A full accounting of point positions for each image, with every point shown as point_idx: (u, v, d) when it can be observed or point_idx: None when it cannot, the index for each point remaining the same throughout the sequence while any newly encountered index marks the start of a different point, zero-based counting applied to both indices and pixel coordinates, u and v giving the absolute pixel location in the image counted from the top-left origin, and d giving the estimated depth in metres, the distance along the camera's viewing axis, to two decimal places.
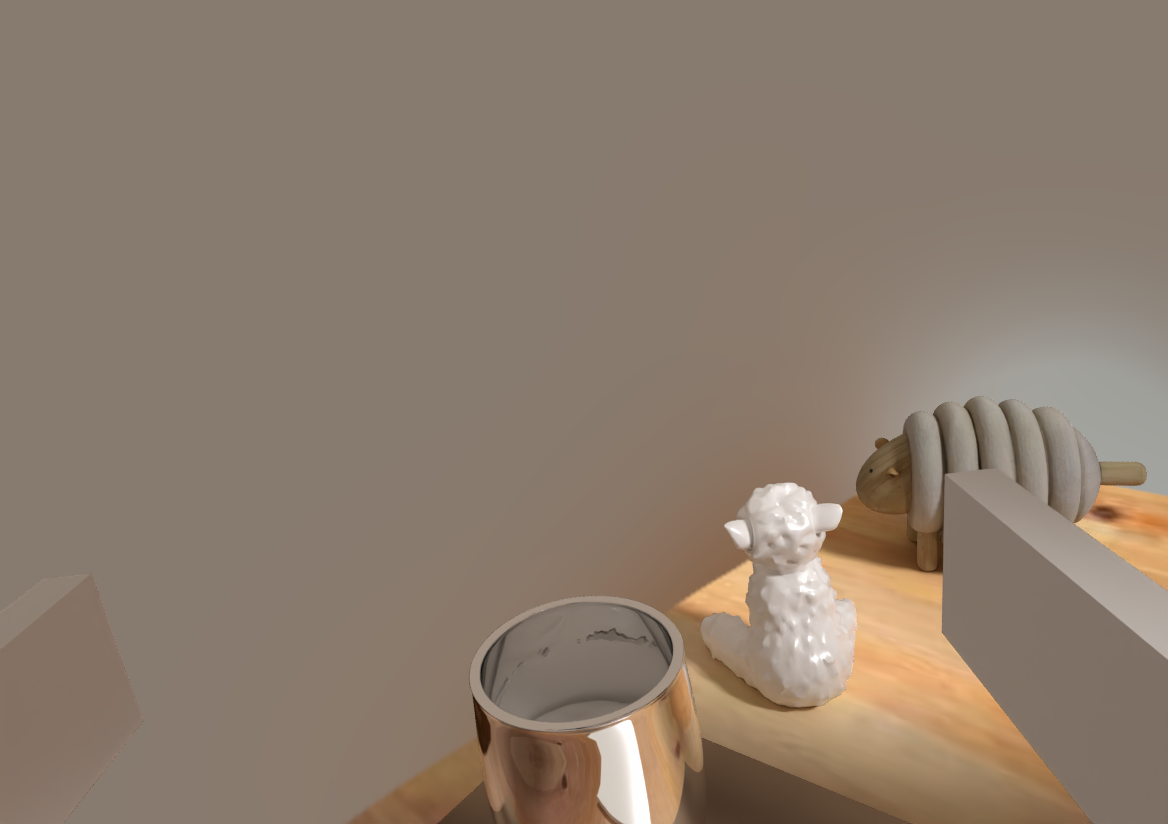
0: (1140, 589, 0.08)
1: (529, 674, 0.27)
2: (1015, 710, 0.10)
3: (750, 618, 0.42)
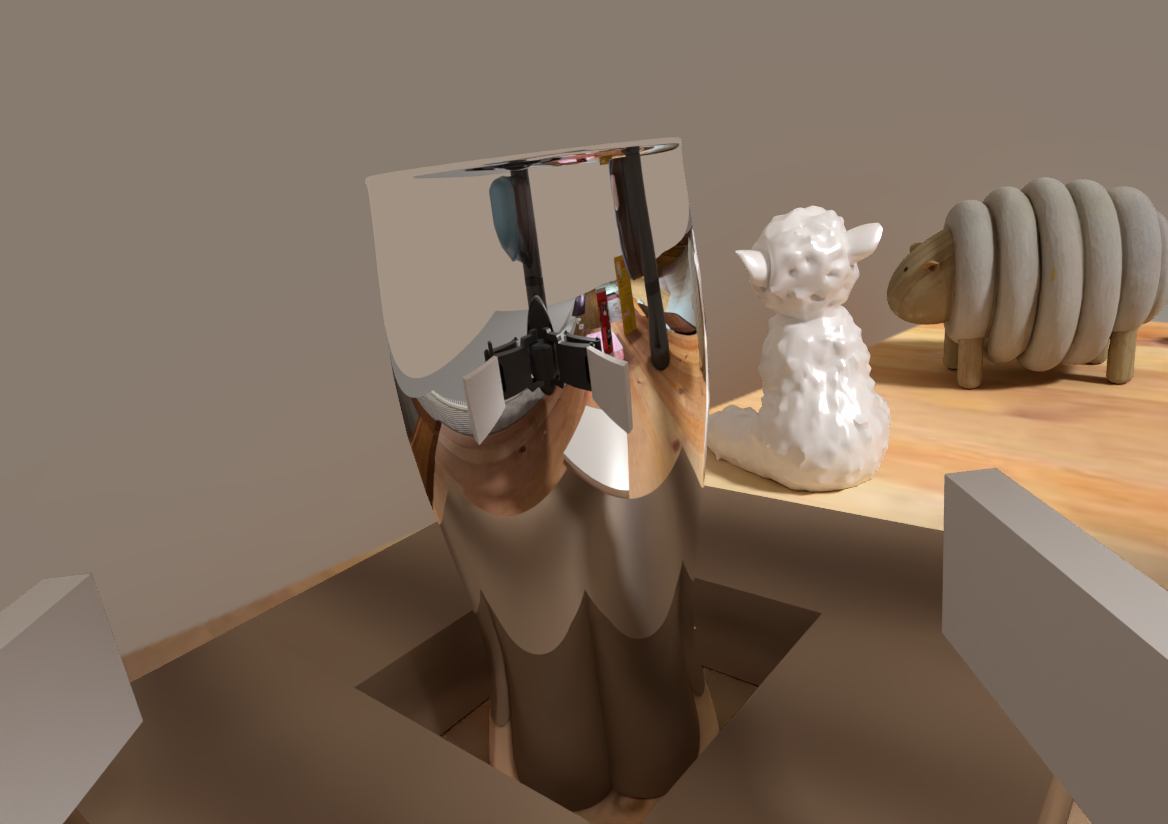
0: (1140, 589, 0.08)
1: None
2: (1015, 710, 0.10)
3: (764, 386, 0.35)
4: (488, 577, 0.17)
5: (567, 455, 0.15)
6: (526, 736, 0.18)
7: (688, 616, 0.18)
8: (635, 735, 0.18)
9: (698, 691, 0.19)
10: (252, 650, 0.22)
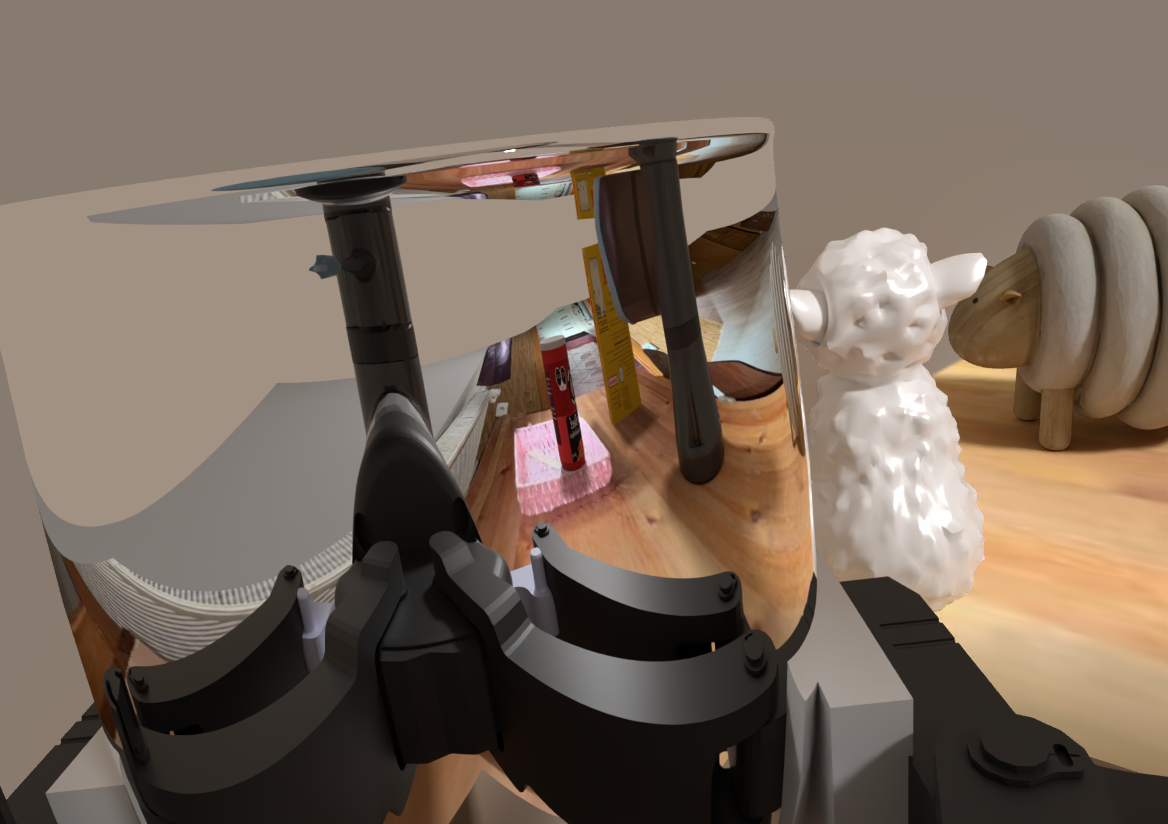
0: None
1: None
2: None
3: (812, 471, 0.26)
4: None
5: None
6: None
7: None
8: None
9: None
10: None
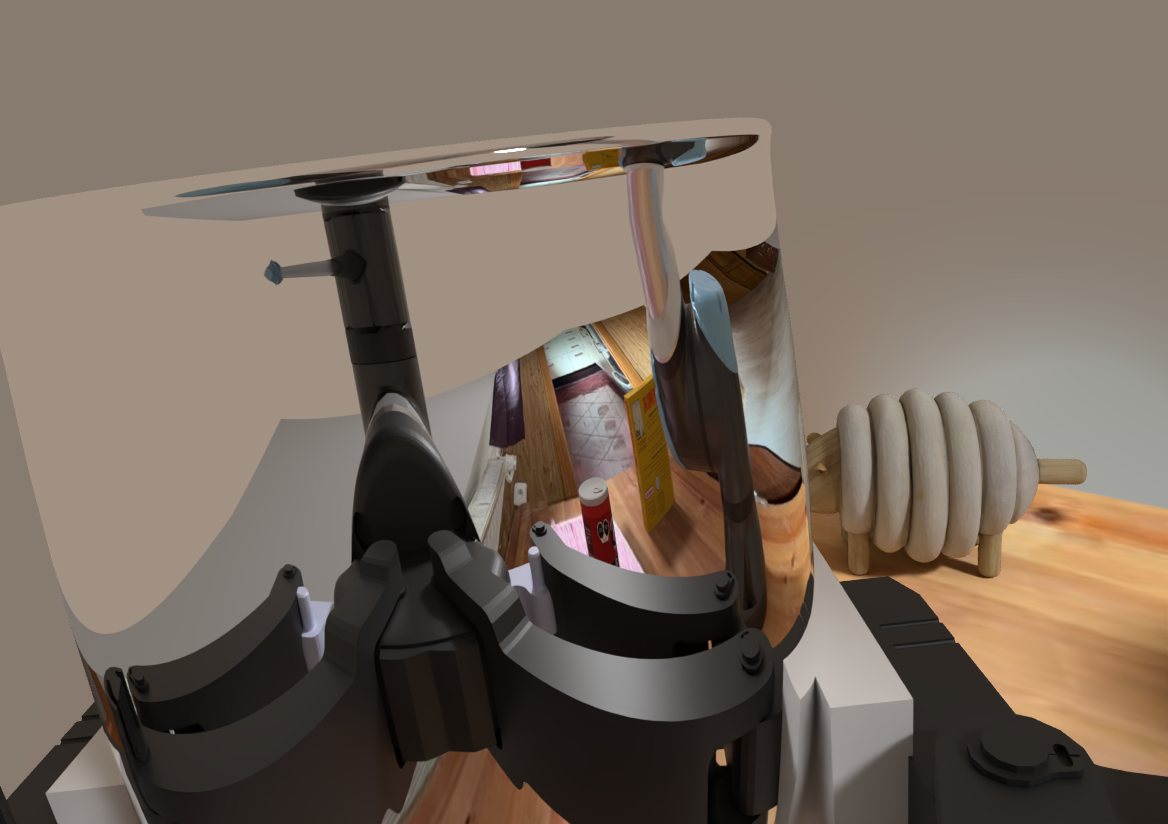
0: None
1: None
2: None
3: None
4: None
5: None
6: None
7: None
8: None
9: None
10: None
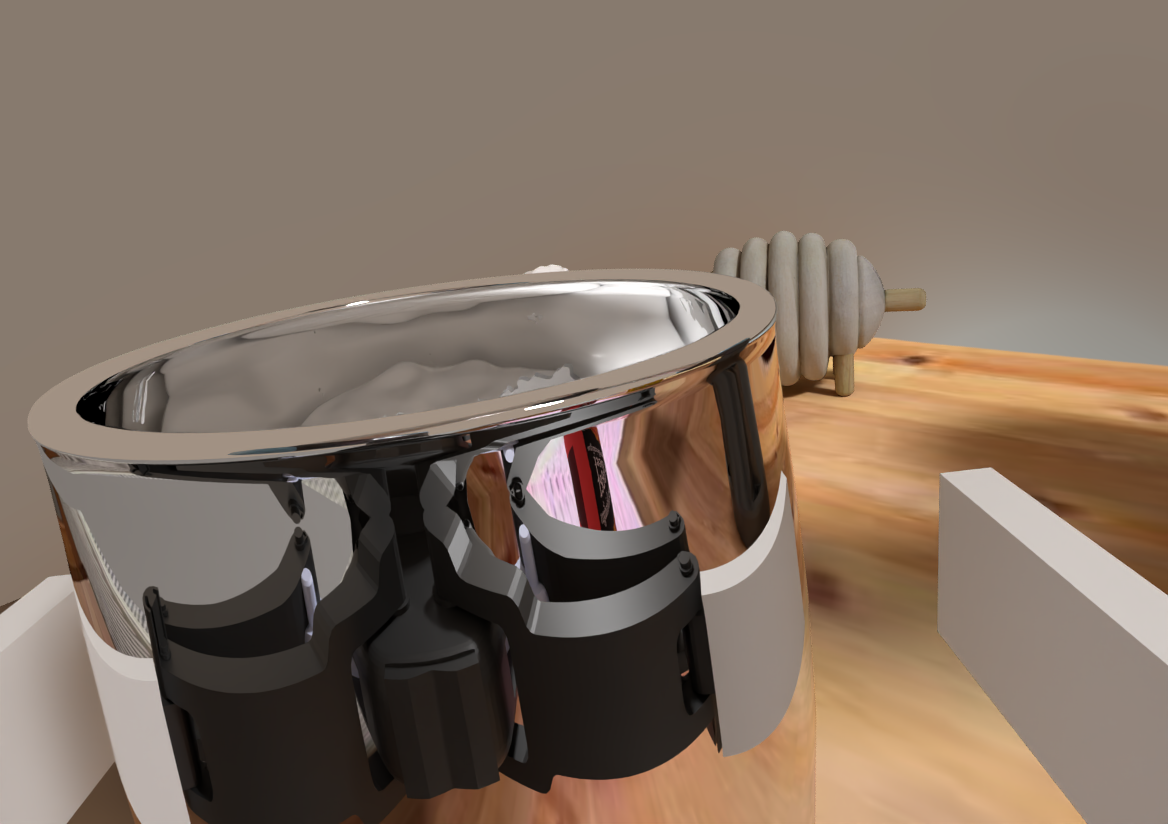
0: (1132, 587, 0.08)
1: None
2: (1009, 708, 0.10)
3: None
4: None
5: None
6: None
7: None
8: None
9: None
10: None
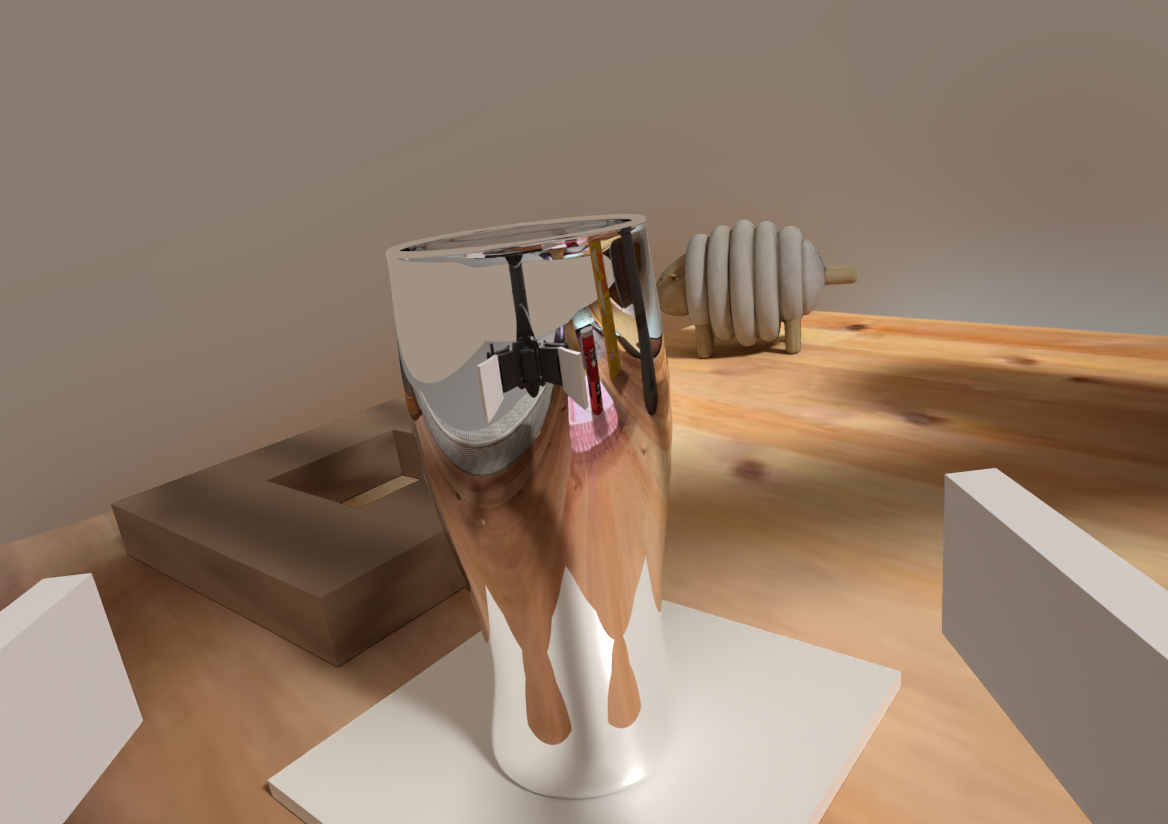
0: (1141, 589, 0.08)
1: None
2: (1015, 710, 0.10)
3: None
4: (487, 579, 0.20)
5: (551, 480, 0.18)
6: (519, 713, 0.21)
7: (656, 612, 0.22)
8: (610, 711, 0.21)
9: (665, 675, 0.22)
10: (219, 473, 0.44)
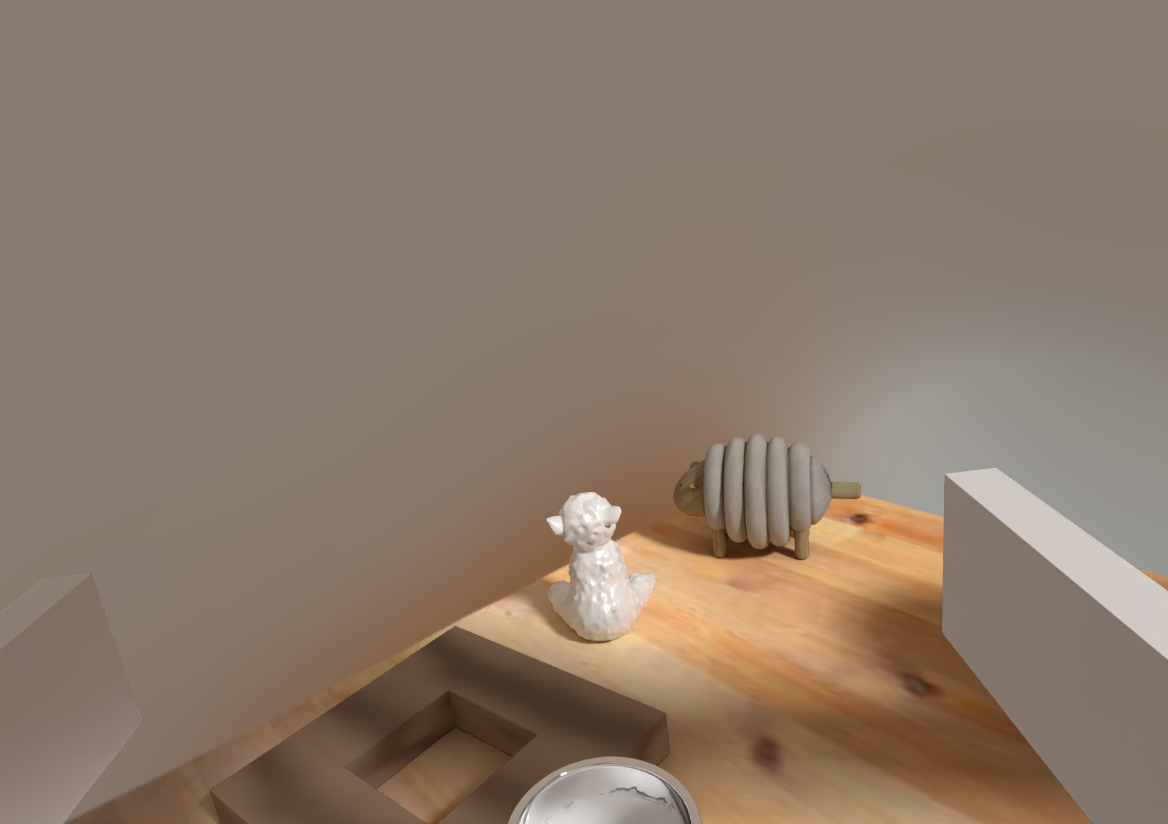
0: (1141, 589, 0.08)
1: None
2: (1015, 710, 0.10)
3: (570, 582, 0.64)
4: None
5: None
6: None
7: None
8: None
9: None
10: (300, 748, 0.50)
